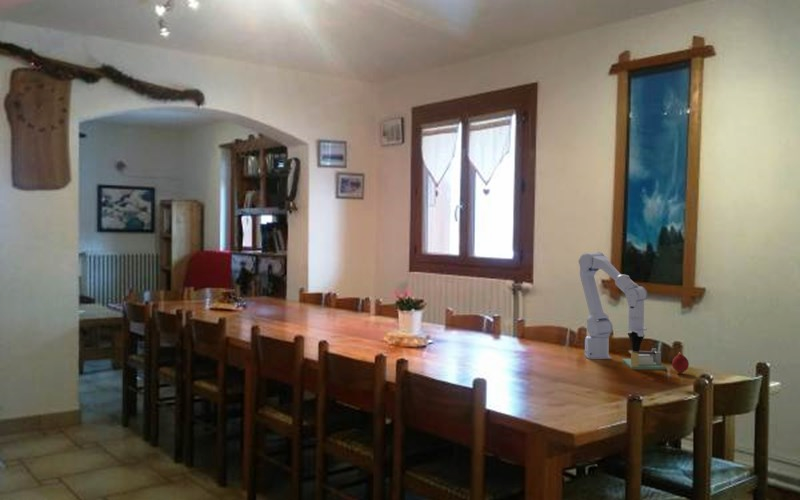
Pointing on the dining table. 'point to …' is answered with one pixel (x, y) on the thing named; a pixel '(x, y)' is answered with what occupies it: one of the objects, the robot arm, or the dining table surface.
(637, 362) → the block
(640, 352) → the strap
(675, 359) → the onion
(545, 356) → the dining table surface
